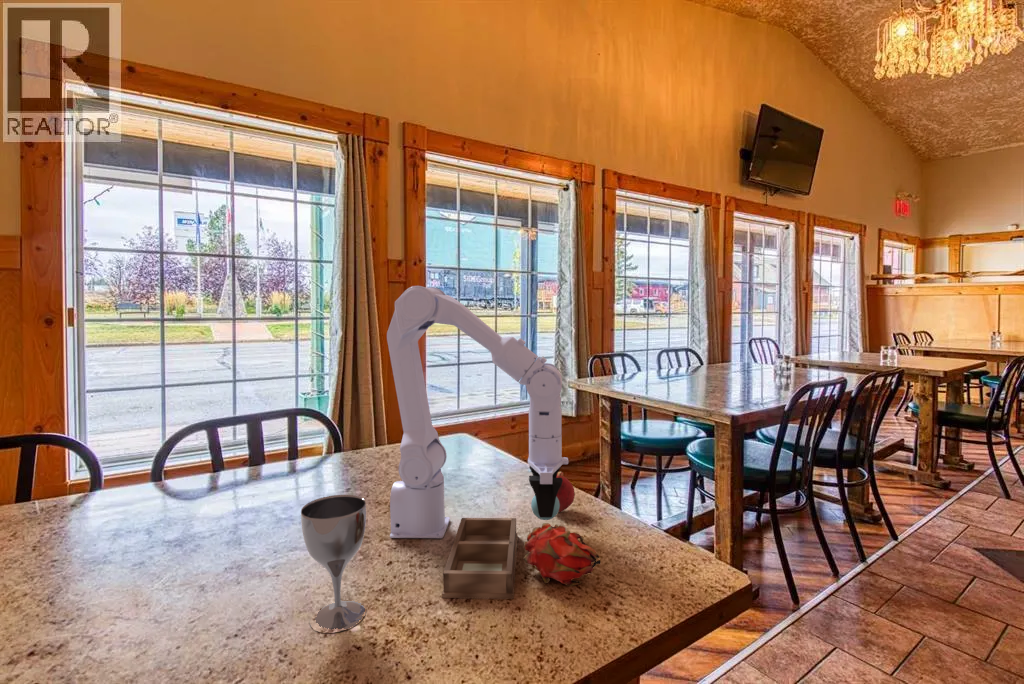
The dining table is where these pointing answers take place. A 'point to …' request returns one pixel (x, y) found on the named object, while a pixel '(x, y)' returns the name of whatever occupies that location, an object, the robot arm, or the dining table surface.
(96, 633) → the dining table surface
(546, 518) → the ball
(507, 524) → the divided wooden tray
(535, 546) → the dragon fruit
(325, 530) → the wine glass
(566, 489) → the onion
